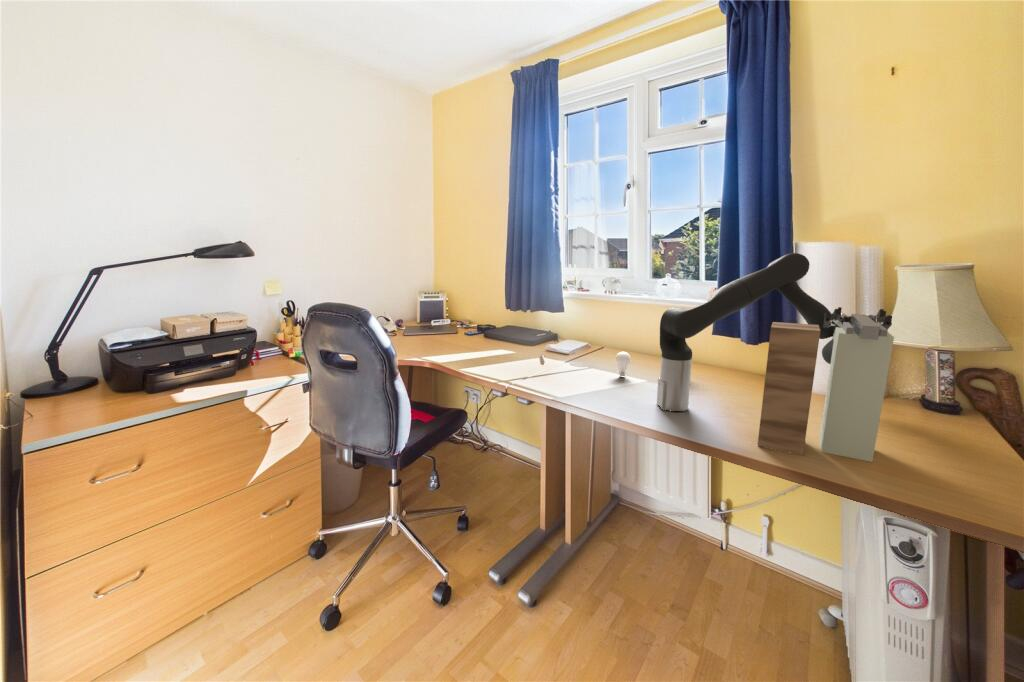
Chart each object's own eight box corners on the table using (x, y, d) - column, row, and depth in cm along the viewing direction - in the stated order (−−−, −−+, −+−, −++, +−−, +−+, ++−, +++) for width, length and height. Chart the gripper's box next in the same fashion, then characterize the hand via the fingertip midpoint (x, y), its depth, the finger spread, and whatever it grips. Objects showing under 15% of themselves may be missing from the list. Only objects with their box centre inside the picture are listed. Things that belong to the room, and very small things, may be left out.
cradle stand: (872, 461, 102) (895, 330, 95) (821, 451, 107) (840, 327, 101) (866, 446, 110) (887, 324, 103) (819, 437, 115) (836, 321, 109)
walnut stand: (803, 455, 105) (820, 330, 99) (757, 446, 111) (771, 327, 104) (802, 441, 113) (818, 324, 107) (759, 432, 119) (772, 321, 112)
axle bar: (878, 340, 93) (880, 326, 92) (860, 338, 94) (862, 325, 94) (864, 325, 111) (866, 314, 110) (849, 325, 112) (851, 313, 112)
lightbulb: (617, 374, 178) (618, 349, 176) (632, 376, 175) (633, 351, 173) (612, 378, 173) (613, 352, 171) (626, 380, 170) (628, 354, 168)
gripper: (821, 319, 127) (827, 297, 114) (883, 323, 119) (897, 299, 106) (818, 342, 125) (825, 322, 112) (881, 348, 117) (896, 326, 104)
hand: (860, 311), depth 109 cm, fingers open, 8 cm apart
